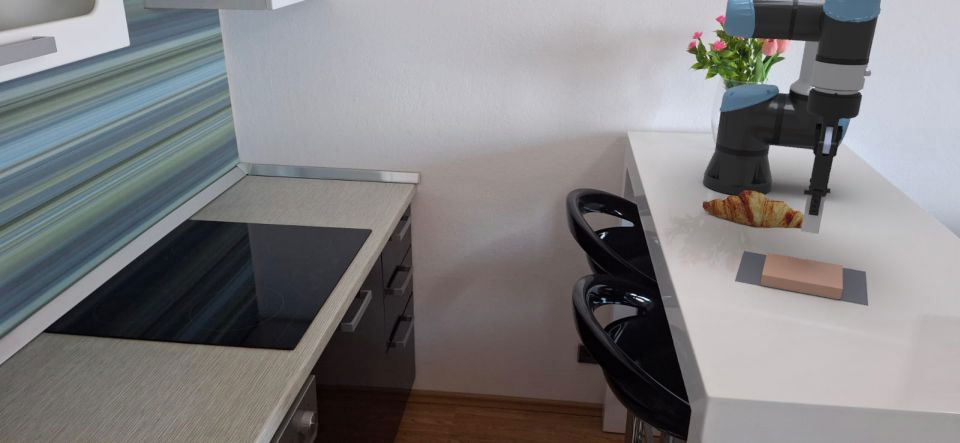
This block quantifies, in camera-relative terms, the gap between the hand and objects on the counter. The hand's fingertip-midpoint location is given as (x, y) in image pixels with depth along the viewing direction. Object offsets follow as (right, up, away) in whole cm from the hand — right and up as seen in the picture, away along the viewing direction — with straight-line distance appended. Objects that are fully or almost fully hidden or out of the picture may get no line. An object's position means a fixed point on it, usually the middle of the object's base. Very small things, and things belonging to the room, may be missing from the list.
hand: (809, 231), depth 124 cm
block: (+1, -6, +4) cm, 7 cm away
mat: (-1, -8, +2) cm, 9 cm away
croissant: (+1, +1, +28) cm, 28 cm away
